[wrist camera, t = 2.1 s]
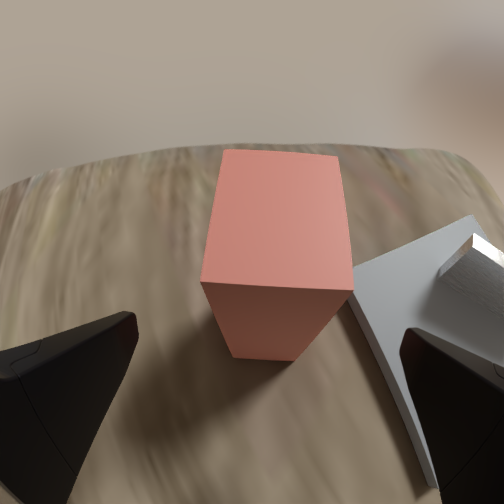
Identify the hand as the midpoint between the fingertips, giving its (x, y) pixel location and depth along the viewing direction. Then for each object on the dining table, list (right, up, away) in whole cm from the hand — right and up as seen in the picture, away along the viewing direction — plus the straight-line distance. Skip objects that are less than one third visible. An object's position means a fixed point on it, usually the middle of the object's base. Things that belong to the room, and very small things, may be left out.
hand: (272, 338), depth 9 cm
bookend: (+18, -1, +9) cm, 20 cm away
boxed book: (0, -2, +11) cm, 11 cm away
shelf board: (+16, -4, +9) cm, 19 cm away
